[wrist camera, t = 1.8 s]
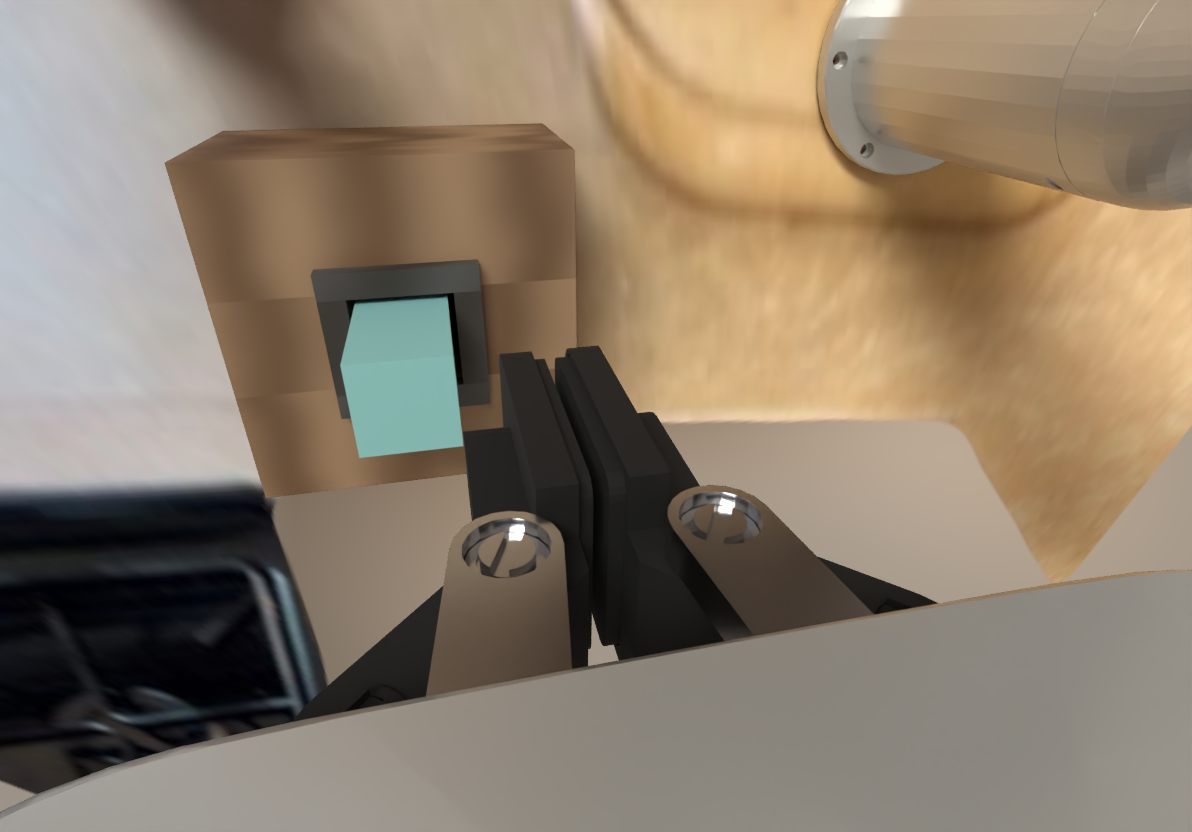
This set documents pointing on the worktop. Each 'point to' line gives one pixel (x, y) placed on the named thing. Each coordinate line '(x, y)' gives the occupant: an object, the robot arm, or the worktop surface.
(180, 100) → the worktop surface
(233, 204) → the socket block
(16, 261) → the worktop surface
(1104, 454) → the worktop surface
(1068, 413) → the worktop surface
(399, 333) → the peg
